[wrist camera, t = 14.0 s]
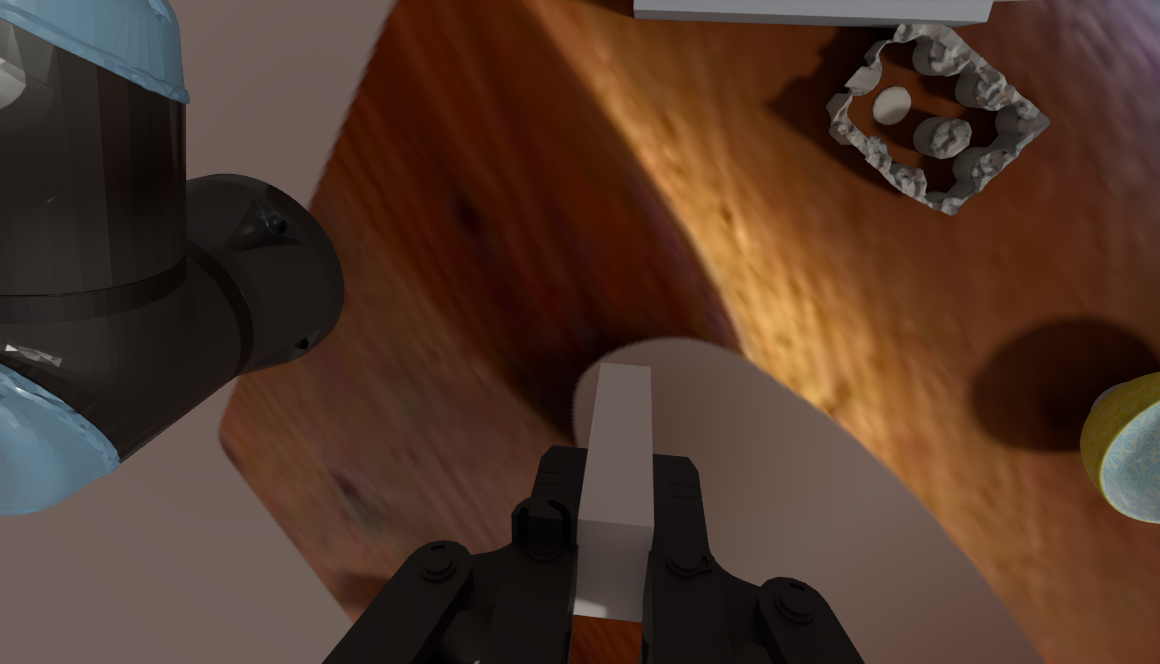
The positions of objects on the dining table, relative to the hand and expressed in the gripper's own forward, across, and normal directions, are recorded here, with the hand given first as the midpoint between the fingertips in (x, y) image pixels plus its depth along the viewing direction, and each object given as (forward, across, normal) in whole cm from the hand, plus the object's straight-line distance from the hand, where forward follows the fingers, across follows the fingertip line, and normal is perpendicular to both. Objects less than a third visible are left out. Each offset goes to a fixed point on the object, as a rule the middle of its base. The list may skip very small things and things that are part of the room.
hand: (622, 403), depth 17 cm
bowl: (+25, +38, -12) cm, 46 cm away
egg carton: (+25, +17, +8) cm, 31 cm away
